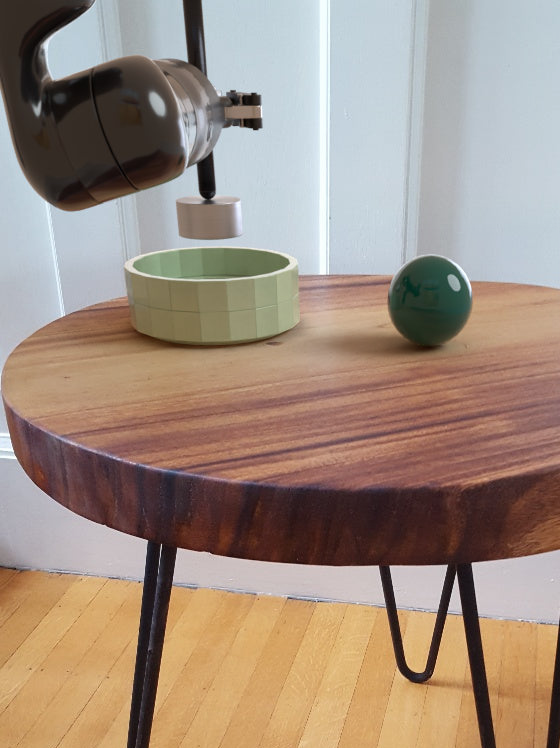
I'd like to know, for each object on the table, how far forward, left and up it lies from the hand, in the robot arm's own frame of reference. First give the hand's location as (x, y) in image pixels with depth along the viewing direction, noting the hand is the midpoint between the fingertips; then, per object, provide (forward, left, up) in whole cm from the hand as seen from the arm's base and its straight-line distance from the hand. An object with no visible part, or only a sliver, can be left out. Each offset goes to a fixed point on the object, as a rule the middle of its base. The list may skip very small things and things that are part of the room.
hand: (206, 104), depth 87 cm
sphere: (+19, -11, -19) cm, 29 cm away
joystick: (0, -3, -10) cm, 11 cm away
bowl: (-1, -2, -19) cm, 19 cm away
